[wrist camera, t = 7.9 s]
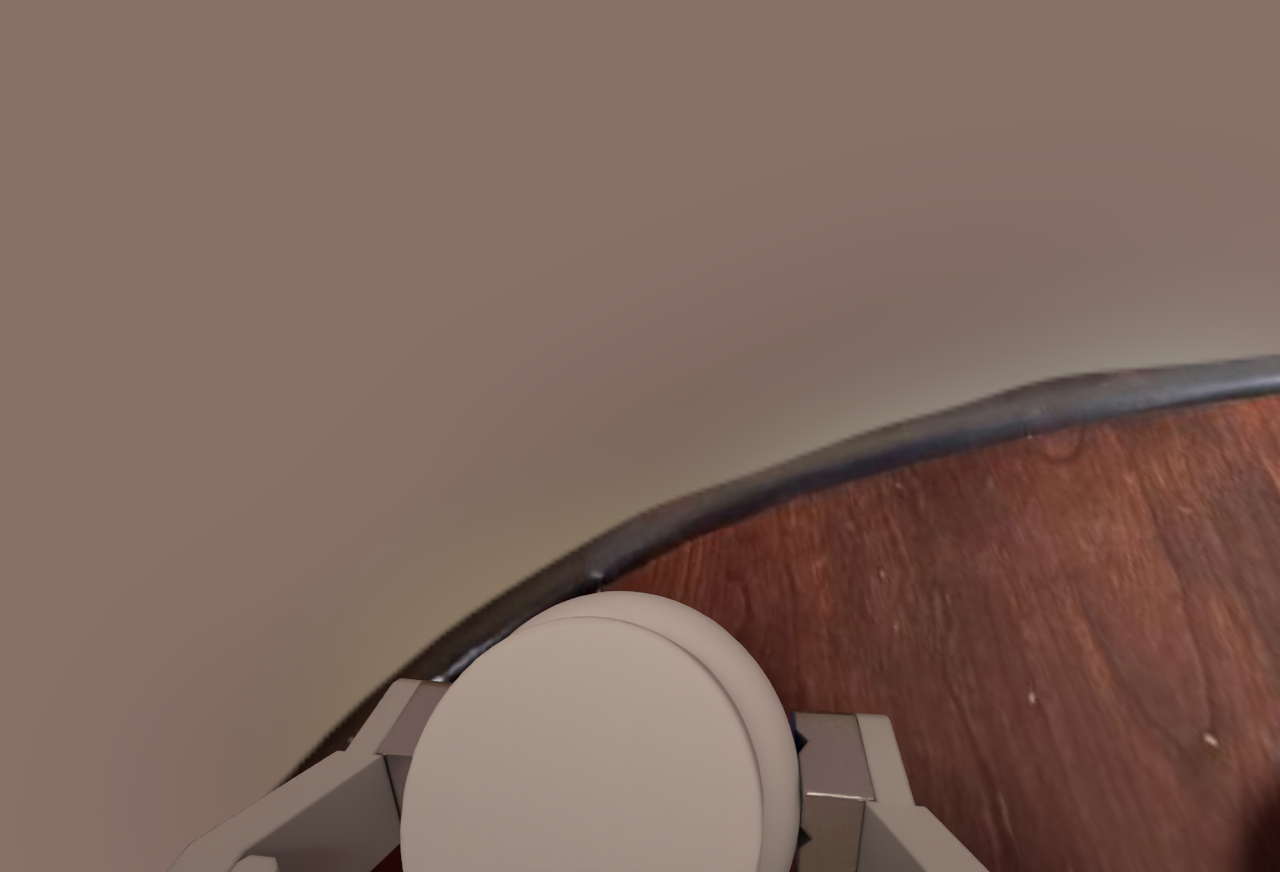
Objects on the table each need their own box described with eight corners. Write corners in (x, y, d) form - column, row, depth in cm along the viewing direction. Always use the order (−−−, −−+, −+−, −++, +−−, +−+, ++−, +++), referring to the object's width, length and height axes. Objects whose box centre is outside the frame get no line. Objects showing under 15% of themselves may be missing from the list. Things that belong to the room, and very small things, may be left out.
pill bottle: (600, 603, 17) (463, 491, 8) (796, 675, 16) (885, 635, 7) (519, 817, 15) (231, 972, 6) (733, 920, 14) (742, 1295, 5)
